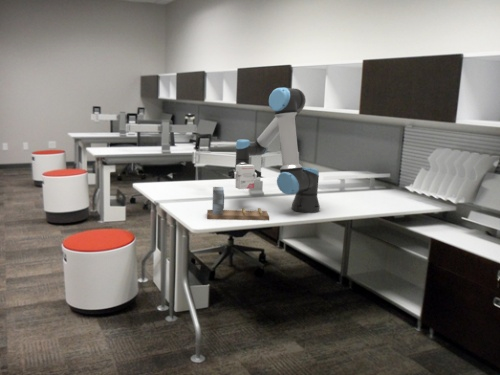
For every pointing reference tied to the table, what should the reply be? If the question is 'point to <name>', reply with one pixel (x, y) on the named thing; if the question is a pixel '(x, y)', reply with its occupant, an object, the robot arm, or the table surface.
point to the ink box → (245, 176)
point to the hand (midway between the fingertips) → (245, 176)
